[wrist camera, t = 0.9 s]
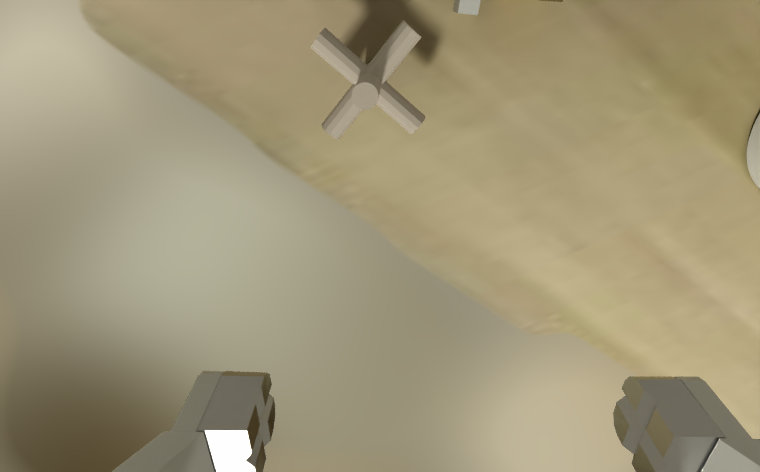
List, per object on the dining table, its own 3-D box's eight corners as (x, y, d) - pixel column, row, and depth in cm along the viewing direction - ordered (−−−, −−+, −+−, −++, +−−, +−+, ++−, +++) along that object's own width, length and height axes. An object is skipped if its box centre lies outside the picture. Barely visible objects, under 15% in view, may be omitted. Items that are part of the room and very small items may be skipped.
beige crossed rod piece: (294, 79, 40) (263, 104, 31) (364, -20, 36) (352, -24, 27) (380, 151, 42) (375, 192, 34) (454, 66, 38) (470, 87, 30)
